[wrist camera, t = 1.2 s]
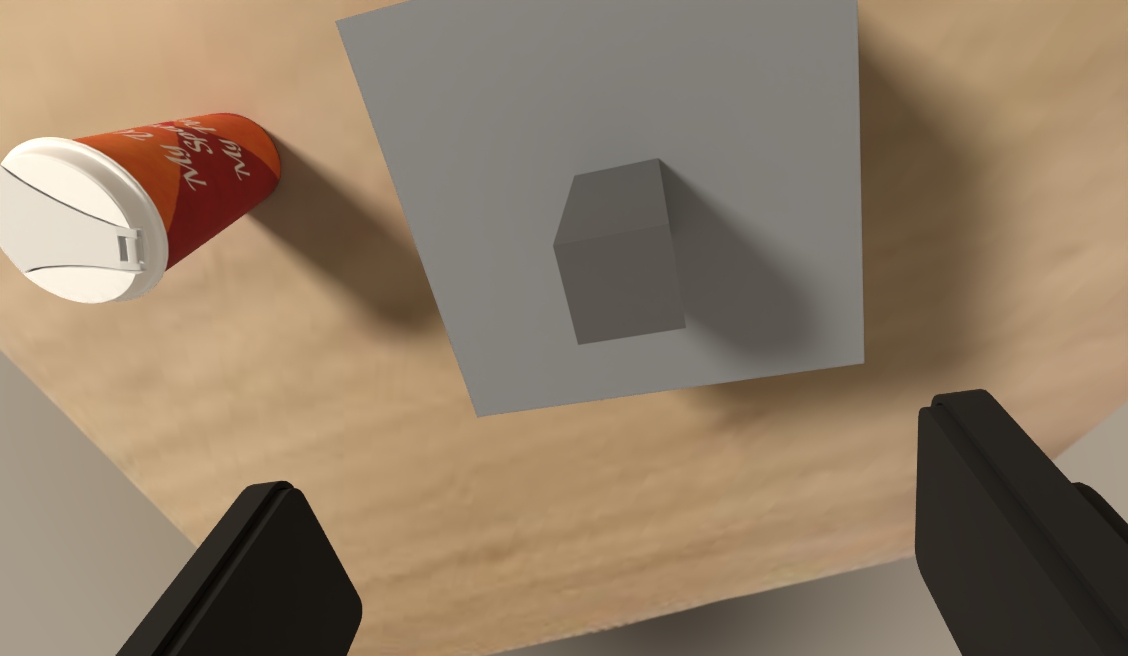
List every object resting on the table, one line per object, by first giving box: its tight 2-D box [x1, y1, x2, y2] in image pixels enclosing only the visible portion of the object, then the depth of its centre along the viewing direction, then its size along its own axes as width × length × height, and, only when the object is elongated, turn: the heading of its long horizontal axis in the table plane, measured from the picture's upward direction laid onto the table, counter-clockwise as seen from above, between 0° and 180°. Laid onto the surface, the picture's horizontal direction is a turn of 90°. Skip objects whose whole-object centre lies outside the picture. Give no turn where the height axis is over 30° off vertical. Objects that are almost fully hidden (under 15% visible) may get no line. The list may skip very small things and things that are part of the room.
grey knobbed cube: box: [335, 0, 864, 417], centre depth 27 cm, size 16×16×25 cm
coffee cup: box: [0, 113, 281, 303], centre depth 36 cm, size 8×8×15 cm
